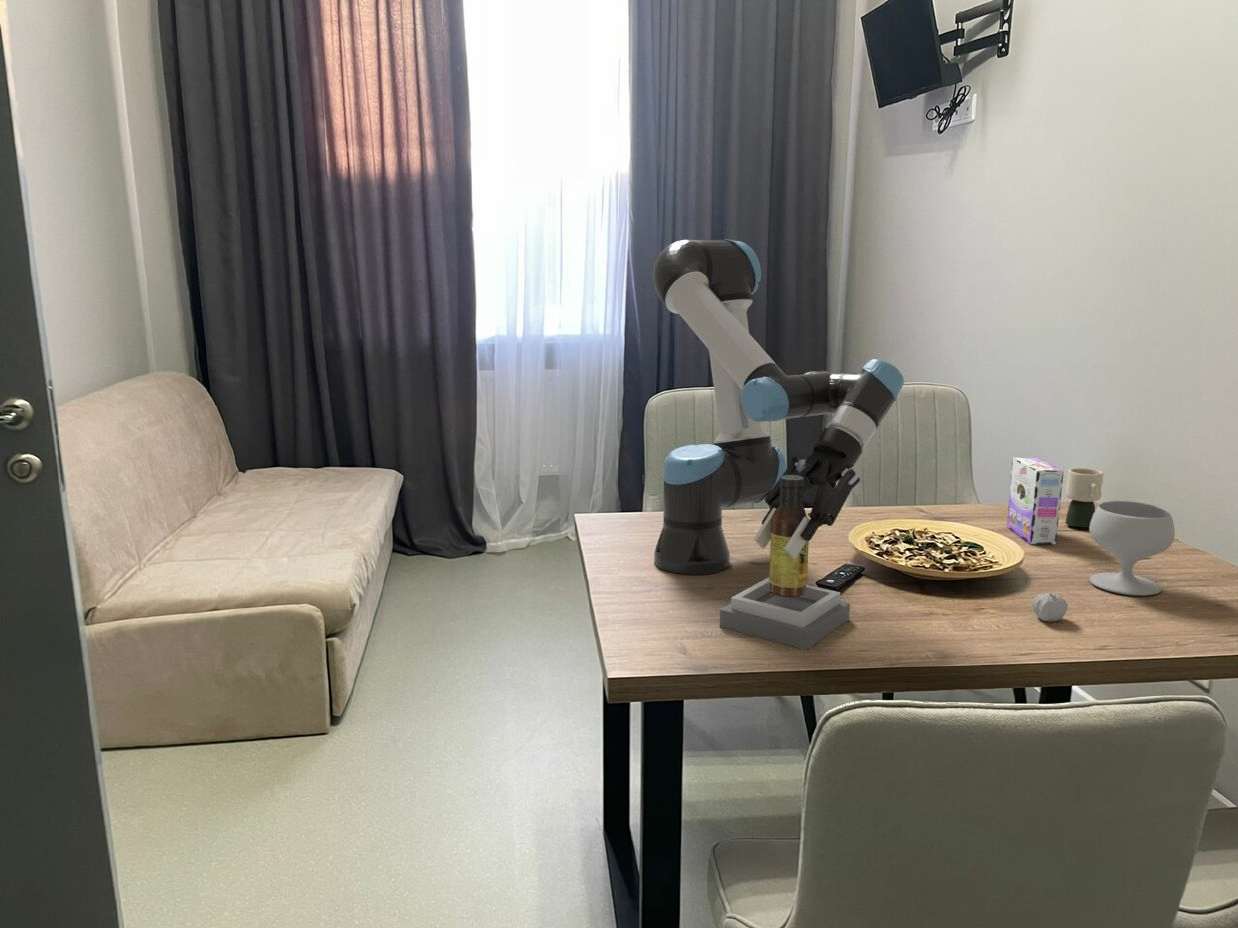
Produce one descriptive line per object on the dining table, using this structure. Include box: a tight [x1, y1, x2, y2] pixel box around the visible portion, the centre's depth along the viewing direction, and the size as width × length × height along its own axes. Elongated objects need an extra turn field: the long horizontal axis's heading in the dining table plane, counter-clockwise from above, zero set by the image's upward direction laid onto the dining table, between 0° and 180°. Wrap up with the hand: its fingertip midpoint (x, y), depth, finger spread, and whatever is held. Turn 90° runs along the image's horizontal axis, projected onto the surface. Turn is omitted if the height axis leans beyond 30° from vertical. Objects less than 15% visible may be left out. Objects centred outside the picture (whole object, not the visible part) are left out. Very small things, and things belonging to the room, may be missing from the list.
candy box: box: [1006, 457, 1065, 546], centre depth 211 cm, size 14×6×16 cm, turn 179°
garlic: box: [1032, 591, 1069, 622], centre depth 165 cm, size 6×5×5 cm
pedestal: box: [719, 576, 851, 651], centre depth 163 cm, size 16×16×5 cm
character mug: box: [1064, 467, 1104, 529], centre depth 218 cm, size 11×7×13 cm, turn 178°
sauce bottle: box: [768, 475, 810, 598], centre depth 160 cm, size 7×6×20 cm
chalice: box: [1088, 500, 1176, 597], centre depth 179 cm, size 14×14×15 cm
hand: (774, 548), depth 158 cm, fingers closed on sauce bottle, 6 cm apart
